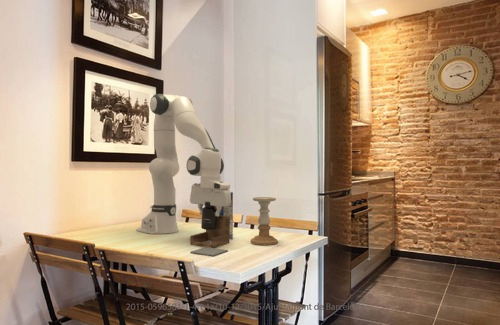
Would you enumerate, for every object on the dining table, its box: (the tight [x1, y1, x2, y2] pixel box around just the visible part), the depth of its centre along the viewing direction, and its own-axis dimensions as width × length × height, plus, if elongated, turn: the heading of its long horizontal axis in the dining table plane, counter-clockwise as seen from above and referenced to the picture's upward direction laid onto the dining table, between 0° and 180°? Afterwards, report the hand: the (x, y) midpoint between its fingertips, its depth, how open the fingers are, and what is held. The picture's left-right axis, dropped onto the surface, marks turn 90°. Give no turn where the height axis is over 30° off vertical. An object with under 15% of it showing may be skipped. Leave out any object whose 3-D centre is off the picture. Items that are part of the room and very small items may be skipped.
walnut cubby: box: [189, 215, 231, 248], centre depth 160 cm, size 12×12×12 cm
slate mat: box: [190, 247, 228, 257], centre depth 144 cm, size 11×10×1 cm
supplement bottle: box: [200, 202, 217, 231], centre depth 160 cm, size 7×7×12 cm
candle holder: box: [250, 196, 279, 246], centre depth 164 cm, size 12×12×20 cm
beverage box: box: [215, 191, 234, 240], centre depth 173 cm, size 7×11×22 cm, turn 52°
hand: (209, 215), depth 160 cm, fingers closed on supplement bottle, 6 cm apart
